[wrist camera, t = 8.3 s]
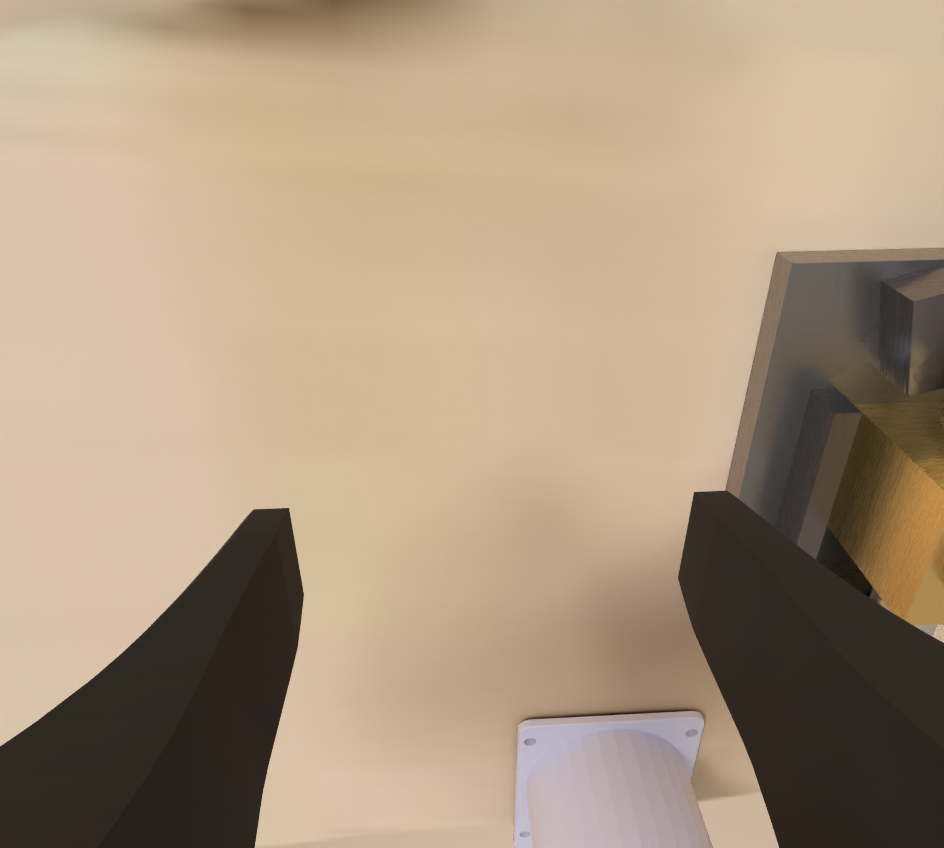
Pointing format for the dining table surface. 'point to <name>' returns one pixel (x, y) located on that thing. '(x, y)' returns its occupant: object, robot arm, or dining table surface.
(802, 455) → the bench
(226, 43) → the dining table surface
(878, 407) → the coupler
